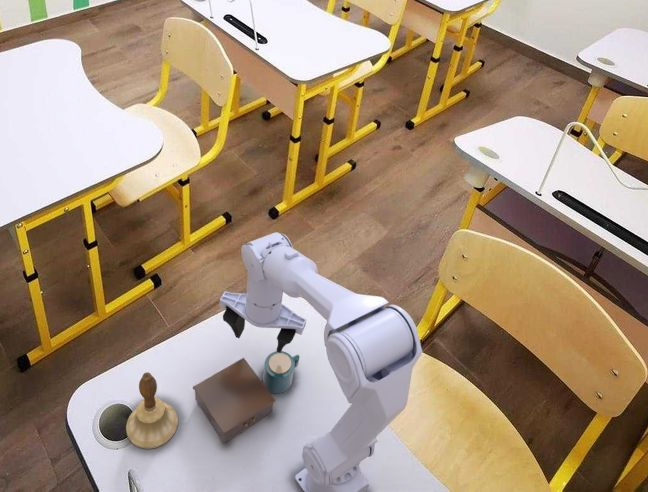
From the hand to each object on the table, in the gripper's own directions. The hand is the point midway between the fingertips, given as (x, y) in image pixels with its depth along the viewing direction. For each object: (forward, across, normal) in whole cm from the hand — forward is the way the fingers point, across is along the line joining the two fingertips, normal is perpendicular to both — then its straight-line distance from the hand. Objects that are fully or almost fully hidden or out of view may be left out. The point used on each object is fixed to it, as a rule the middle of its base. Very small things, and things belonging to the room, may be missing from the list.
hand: (260, 340), depth 102 cm
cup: (+10, -4, +1) cm, 11 cm away
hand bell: (+10, +12, +16) cm, 22 cm away
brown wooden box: (+10, +1, +8) cm, 13 cm away
